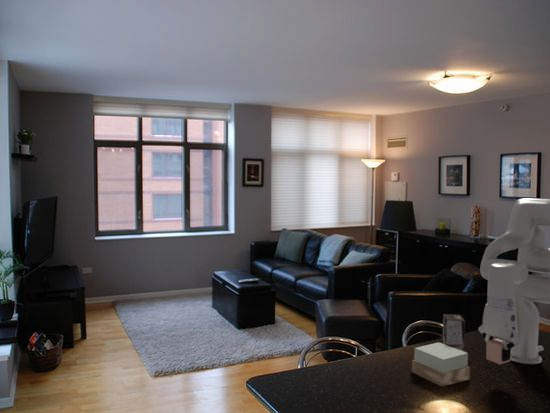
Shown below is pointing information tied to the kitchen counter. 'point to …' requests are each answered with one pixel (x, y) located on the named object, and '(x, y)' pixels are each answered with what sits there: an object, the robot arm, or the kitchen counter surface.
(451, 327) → the coffee box
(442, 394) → the kitchen counter surface
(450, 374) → the tower base
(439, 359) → the tower top
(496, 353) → the pink block
